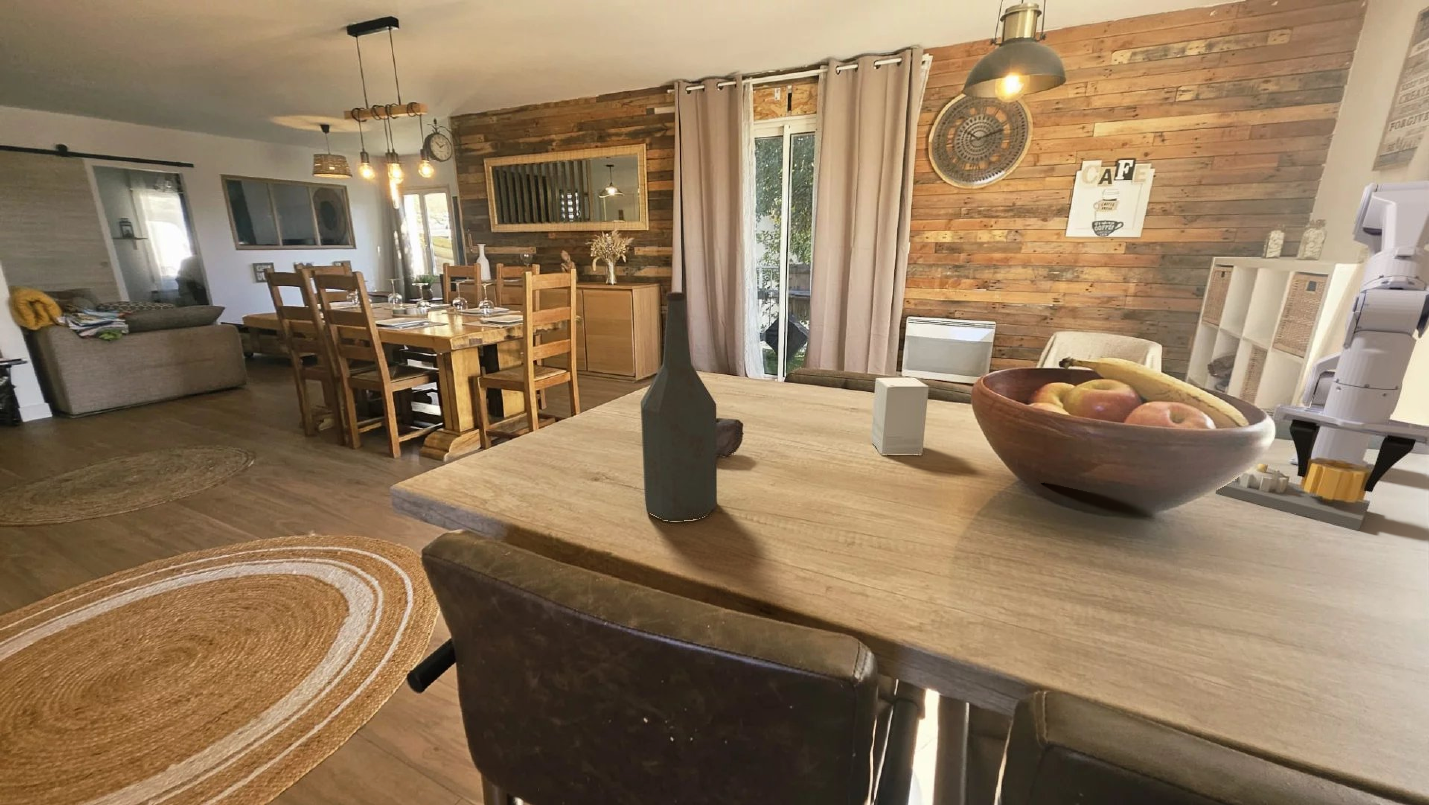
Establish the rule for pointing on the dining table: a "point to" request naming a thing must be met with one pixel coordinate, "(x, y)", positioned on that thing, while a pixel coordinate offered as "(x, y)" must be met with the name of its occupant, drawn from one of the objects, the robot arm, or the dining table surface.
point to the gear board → (1293, 497)
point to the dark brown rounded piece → (728, 435)
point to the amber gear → (1335, 479)
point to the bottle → (678, 430)
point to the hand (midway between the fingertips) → (1333, 482)
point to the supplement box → (899, 415)
